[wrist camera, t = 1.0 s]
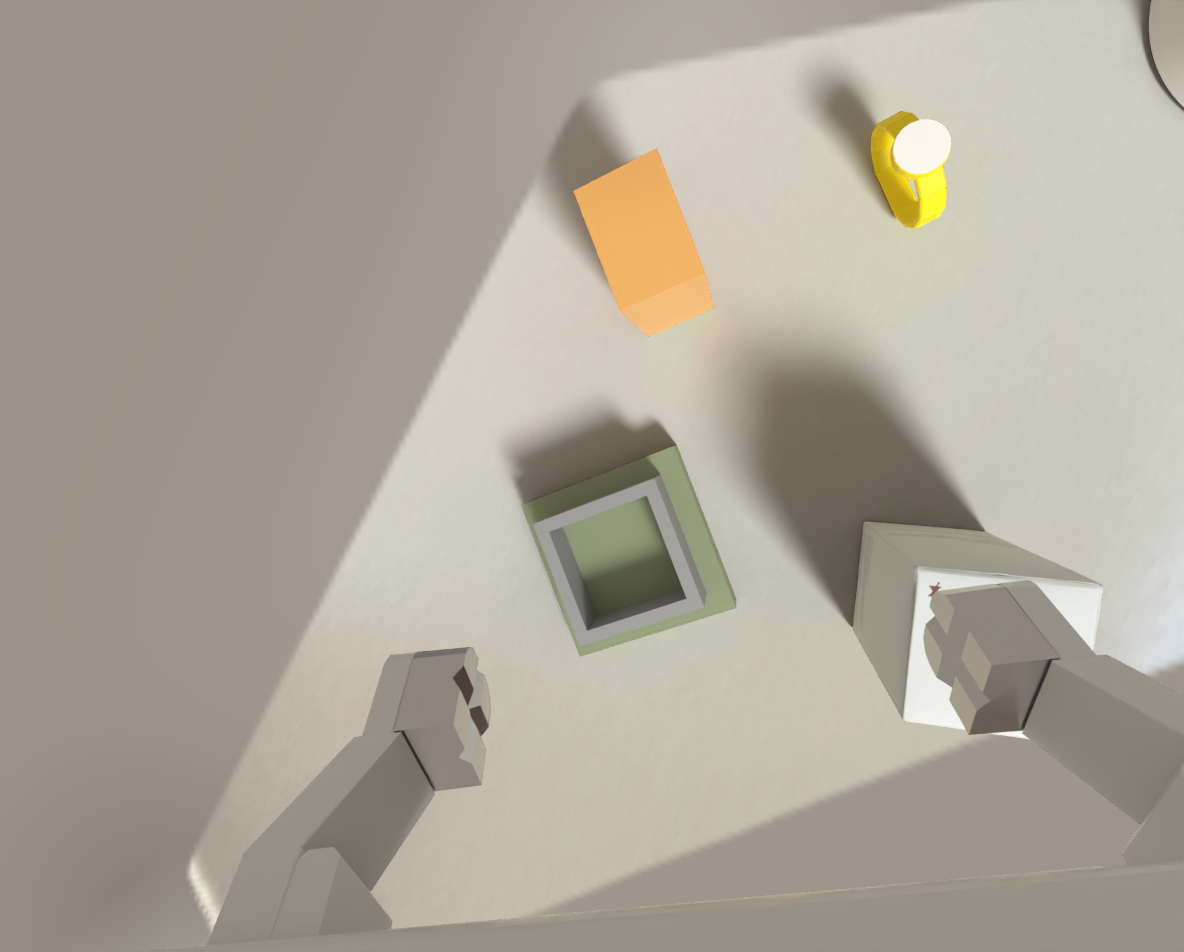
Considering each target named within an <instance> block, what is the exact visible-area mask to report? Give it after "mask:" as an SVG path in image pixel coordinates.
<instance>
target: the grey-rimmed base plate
mask: <svg viewBox="0 0 1184 952" xmlns="http://www.w3.org/2000/svg"><path fill="white" fill-rule="evenodd" d="M522 507H523V510H524V513H525V515H526V518H527V520H528V523H529V525H530V528H531V531H532V533H533V536H534V538H535V541H536V544H537V546H538V549H539V551H540V554H541V557H542V559H543V562H544V564H545V567H546V570H547V572H548V575H549V577H550V580H551V583H552V585H553V588H554V590H555V593H556V596H557V598H558V601H559V603H560V606H561V609H562V611H563V614H564V616H565V619H566V622H567V624H568V627H569V629H570V632H571V635H572V637H573V640H574V642H575V645H576V648H577V650H578V653H579V655H580V656H583V655H587V654H590V653H593V652H596V651H599V650H603V649H606V648H609V647H612V646H615V645H619V644H622V643H625V642H628V641H631V640H635V639H638V638H641V637H644V636H647V635H651V634H654V633H657V632H660V631H664V630H667V629H670V628H673V627H676V626H680V625H683V624H686V623H689V622H692V621H696V620H699V619H702V618H705V617H708V616H712V615H715V614H718V613H721V612H724V611H728V610H731V609H734V608H736V597H735V595H734V592H733V589H732V587H731V584H730V582H729V579H728V577H727V574H726V571H725V569H724V566H723V564H722V561H721V558H720V556H719V553H718V551H717V548H716V546H715V543H714V540H713V538H712V535H711V533H710V530H709V527H708V525H707V522H706V520H705V517H704V515H703V512H702V509H701V507H700V504H699V502H698V499H697V496H696V494H695V491H694V489H693V486H692V483H691V481H690V478H689V476H688V473H687V471H686V468H685V465H684V463H683V460H682V458H681V455H680V452H679V450H678V447H677V445H675V446H672V447H670V448H667V449H664V450H662V451H659V452H657V453H654V454H652V455H649V456H646V457H644V458H641V459H639V460H636V461H633V462H631V463H628V464H626V465H623V466H621V467H618V468H615V469H613V470H610V471H608V472H605V473H602V474H600V475H597V476H595V477H592V478H590V479H587V480H584V481H582V482H579V483H577V484H574V485H571V486H569V487H566V488H564V489H561V490H559V491H556V492H553V493H551V494H548V495H546V496H543V497H540V498H538V499H535V500H533V501H530V502H528V503H525V504H522Z"/></svg>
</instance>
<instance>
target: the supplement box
mask: <svg viewBox="0 0 1184 952" xmlns="http://www.w3.org/2000/svg"><path fill="white" fill-rule="evenodd" d="M1023 580H1030V581H1032V582H1034V583H1035V584H1037V585H1038V587H1039V588H1040V589H1041V590H1042V591H1043V593H1044V594H1045V595H1046V596H1047V597H1048V598H1049V600H1050V601H1051V602H1052V603H1053V604H1054V605H1055V607H1056V608H1057V609H1058V610H1059V611H1060V613H1061V614H1062V615H1063V616H1064V617H1065V618H1066V620H1067V621H1068V622H1069V623H1070V624H1071V626H1072V627H1073V628H1074V629H1075V630H1076V631H1077V633H1078V634H1079V635H1080V636H1081V637H1082V639H1083V640H1084V641H1085V642H1086V643H1087V644H1088V646H1089V647H1090V648H1091V649H1092V650H1093V649H1094V643H1095V637H1096V631H1097V626H1098V620H1099V613H1100V607H1101V601H1102V596H1103V591H1104V588H1103V586H1102V585H1101V584H1099V583H1097V582H1095V581H1093V580H1091V579H1089V578H1087V577H1085V576H1083V575H1080V574H1078V573H1076V572H1074V571H1072V570H1070V569H1067V568H1065V567H1063V566H1061V565H1058V564H1056V563H1054V562H1052V561H1049V560H1047V559H1045V558H1042V557H1040V556H1038V555H1036V554H1033V553H1031V552H1029V551H1027V550H1025V549H1022V548H1020V547H1018V546H1016V545H1013V544H1011V543H1009V542H1007V541H1005V540H1003V539H1000V538H998V537H996V536H994V535H992V534H990V533H988V532H982V531H974V530H964V529H953V528H942V527H929V526H917V525H904V524H892V523H879V522H867V521H866V522H864V524H863V534H862V543H861V554H860V562H859V574H858V584H857V593H856V602H855V612H854V623H853V631H854V633H855V635H856V636H857V638H858V640H859V642H860V644H861V645H862V647H863V649H864V651H865V653H866V654H867V656H868V658H869V660H870V662H871V663H872V665H873V667H874V669H875V671H876V672H877V674H878V676H879V678H880V680H881V681H882V683H883V685H884V687H885V688H886V690H887V692H888V694H889V696H890V697H891V699H892V701H893V703H894V705H895V706H896V708H897V710H898V712H899V714H900V715H901V717H902V719H903V720H904V721H910V722H916V723H923V724H930V725H936V726H943V727H950V728H957V729H963V730H966V729H965V727H964V725H963V724H962V722H961V720H960V718H959V717H958V715H957V713H956V711H955V710H954V708H953V706H952V704H951V703H950V701H949V699H950V695H951V691H952V687H950V686H949V685H947V684H946V683H944V682H943V681H941V680H939V679H938V678H937V677H936V676H935V674H934V672H933V670H932V668H931V666H930V664H929V662H928V659H927V656H926V653H925V647H924V640H923V636H924V630H925V624H926V623H927V622H928V621H930V620H931V619H932V618H933V617H934V616H935V615H934V613H933V612H932V610H931V608H930V607H929V606H930V602H931V598H932V596H933V595H934V593H935V592H936V591H941V590H948V589H956V588H964V587H971V586H979V585H987V584H998V583H1006V582H1015V581H1023ZM1022 732H1023V731H1013V732H1000V733H991V734H998V735H1005V736H1012V737H1018V738H1026V739H1029V738H1027V737H1026V736H1025V735H1024V734H1022Z"/></svg>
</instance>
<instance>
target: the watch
mask: <svg viewBox="0 0 1184 952" xmlns="http://www.w3.org/2000/svg"><path fill="white" fill-rule="evenodd" d="M950 150H951V138H950V135H949V132H948V131H947V129H946V128H945V126H943V125H942V124H940V123H939V122H937V121H934V120H929V119H925V120H919V119H918V118H917V117H916V116H915V115H914V114H912V113H909V112H903V111H901V112H898V113H897V114H895V115H893V116H891V117H889V118H887V119H885V120H884V121H882V122H880V123H878V124H877V125H876V127H875V129H874V130H873V132H872V135H871V152H872V153H871V156H872V161H873V166H874V171H875V173H876V174H875V176H876V177H877V178H878V180H879V182H880V184H881V187H882V189H883V191H884V193H885V195H886V198H887V200H888V202H889V204H890V206H891V209H892V211H893V213H894V216H895V217H896V218H897V219H898V220H899V221H900V222H901V223H902V224H903V225H904V226H906V227H909V228H914V229H916V228H918V227H920V226H922V225H924V224H926V223H928V222H930V221H932V220H934V219H936V218H938V217H939V216H940V214H941V213H942V212H943V210H944V209H945V205H946V193H947V187H946V185H947V184H946V179H945V174H944V169H943V164H944V163H945V161H946V160H947V158H948V155H949V153H950ZM907 178H908V179H912V180H914V182H915V186H916V191H917V195H918V201H917V200H916V197H915V195H914V193H913V191H912V189H911V186H910V184H909V182H908V180H907Z"/></svg>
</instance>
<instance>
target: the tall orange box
mask: <svg viewBox="0 0 1184 952" xmlns="http://www.w3.org/2000/svg"><path fill="white" fill-rule="evenodd" d="M573 192H574V194H575V197H576V199H577V202H578V204H579V207H580V210H581V212H582V215H583V217H584V220H585V223H586V225H587V228H588V230H589V233H590V235H591V238H592V241H593V243H594V246H595V248H596V251H597V254H598V256H599V259H600V261H601V264H602V267H603V269H604V272H605V274H606V277H607V279H608V282H609V285H610V287H611V290H612V292H613V295H614V298H615V300H616V303H617V305H618V308H619V310H620V312H621V313H622V314H624V315H625V316H626V317H627V318H628V319H629V320H630V321H631V322H632V323H634V324H635V325H636V326H637V327H638V328H639V329H640V330H641V331H643V332H644V333H645V334H646V335H647V336H648V337H649V336H651V335H653V334H656V333H658V332H660V331H662V330H665V329H667V328H669V327H672V326H674V325H676V324H678V323H681V322H683V321H685V320H688V319H690V318H692V317H694V316H697V315H699V314H701V313H704V312H706V311H708V310H710V309H713V308H714V305H713V301H712V297H711V293H710V289H709V286H708V282H707V278H706V274H705V271H704V268H703V266H702V263H701V261H700V258H699V256H698V253H697V250H696V248H695V245H694V243H693V240H692V238H691V235H690V232H689V230H688V227H687V225H686V222H685V219H684V217H683V214H682V212H681V209H680V207H679V204H678V201H677V199H676V196H675V194H674V191H673V189H672V186H671V183H670V181H669V178H668V176H667V173H666V170H665V168H664V165H663V163H662V160H661V158H660V155H659V152H658V150H657V148H656V149H654V150H652V151H650V152H648V153H646V154H644V155H642V156H640V157H639V158H637V159H635V160H633V161H631V162H629V163H627V164H625V165H623V166H621V167H619V168H617V169H615V170H613V171H611V172H609V173H607V174H605V175H603V176H602V177H600V178H598V179H596V180H594V181H592V182H590V183H588V184H586V185H584V186H582V187H580V188H578V189H576V190H574V191H573Z"/></svg>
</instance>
